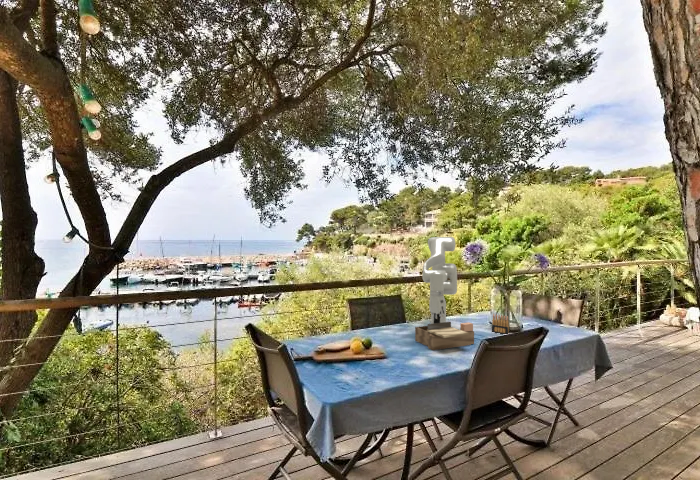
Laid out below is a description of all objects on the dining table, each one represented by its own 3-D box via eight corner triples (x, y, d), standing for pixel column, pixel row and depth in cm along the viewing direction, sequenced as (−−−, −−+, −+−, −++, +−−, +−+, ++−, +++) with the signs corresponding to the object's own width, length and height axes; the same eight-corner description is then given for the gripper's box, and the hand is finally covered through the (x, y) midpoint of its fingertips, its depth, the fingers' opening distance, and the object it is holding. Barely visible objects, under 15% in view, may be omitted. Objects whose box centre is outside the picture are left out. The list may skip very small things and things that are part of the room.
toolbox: (412, 341, 254) (412, 327, 254) (451, 336, 266) (451, 323, 265) (432, 350, 235) (432, 335, 235) (474, 344, 247) (474, 330, 246)
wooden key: (460, 330, 247) (460, 323, 247) (468, 329, 250) (468, 322, 250) (464, 331, 244) (464, 324, 244) (473, 330, 246) (473, 323, 246)
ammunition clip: (491, 332, 274) (491, 313, 273) (493, 332, 275) (493, 313, 275) (508, 335, 266) (508, 316, 266) (509, 335, 268) (509, 315, 267)
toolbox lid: (426, 331, 244) (426, 324, 244) (450, 328, 250) (450, 321, 250) (444, 337, 229) (444, 330, 229) (468, 334, 235) (468, 327, 235)
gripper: (450, 294, 243) (450, 327, 243) (434, 291, 256) (434, 322, 257) (439, 295, 240) (438, 328, 240) (423, 292, 253) (423, 323, 254)
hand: (436, 325), depth 248 cm, fingers closed
